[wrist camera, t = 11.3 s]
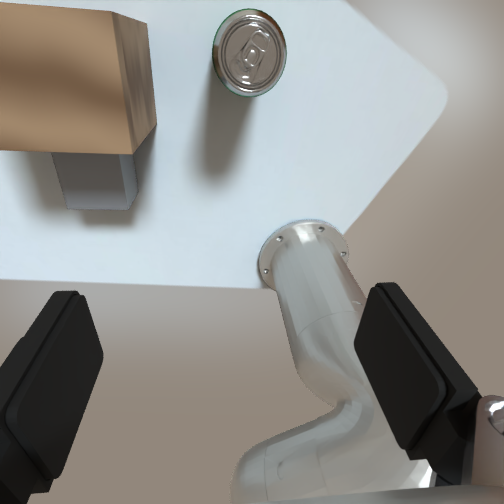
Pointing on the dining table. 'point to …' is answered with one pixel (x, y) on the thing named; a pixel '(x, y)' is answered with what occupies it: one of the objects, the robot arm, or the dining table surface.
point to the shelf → (73, 80)
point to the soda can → (249, 52)
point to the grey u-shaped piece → (96, 180)
